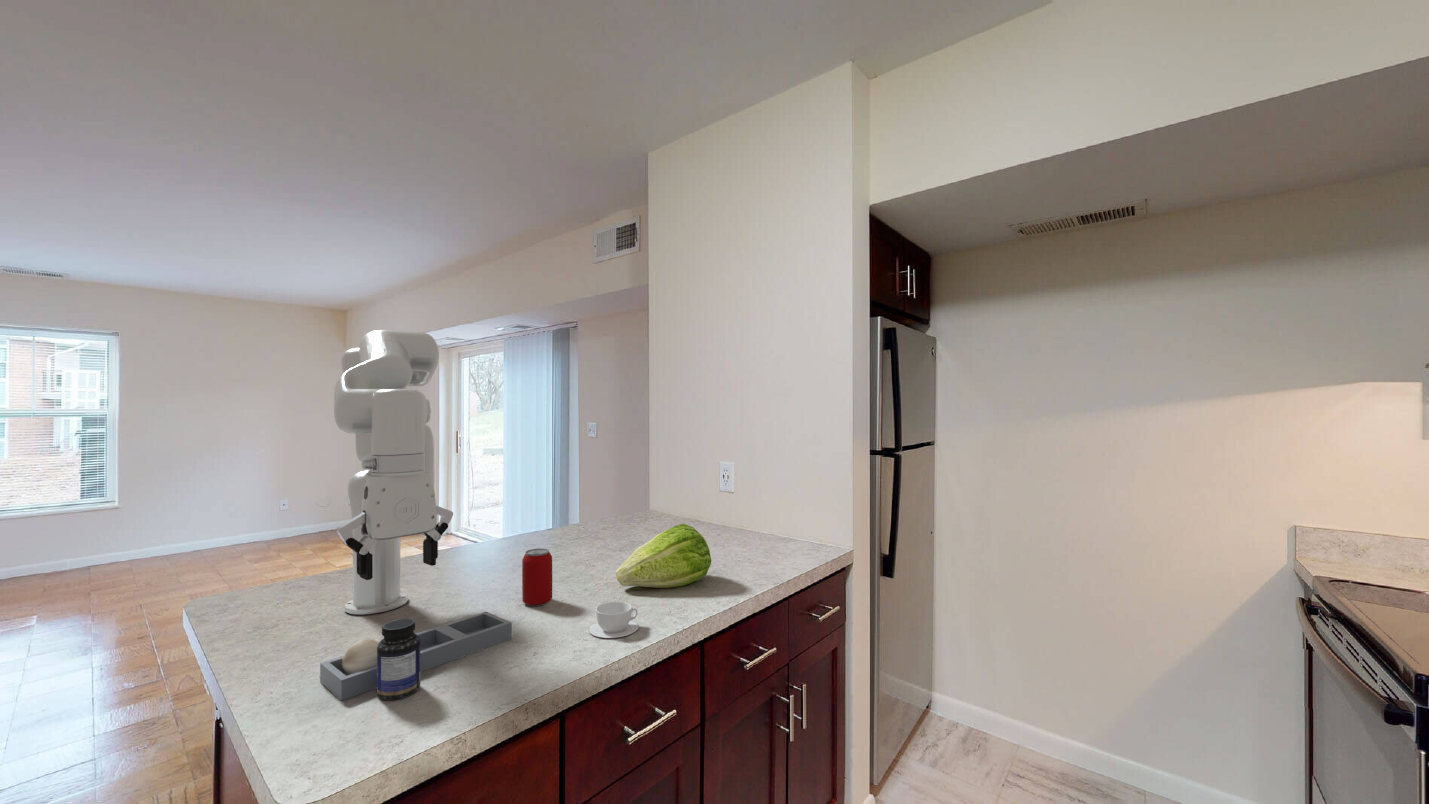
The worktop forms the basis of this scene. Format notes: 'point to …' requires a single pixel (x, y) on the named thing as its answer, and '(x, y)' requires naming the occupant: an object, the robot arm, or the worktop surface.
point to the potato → (360, 656)
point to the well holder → (424, 651)
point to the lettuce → (667, 560)
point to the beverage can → (537, 577)
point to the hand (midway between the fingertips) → (399, 570)
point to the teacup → (614, 620)
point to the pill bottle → (398, 660)
